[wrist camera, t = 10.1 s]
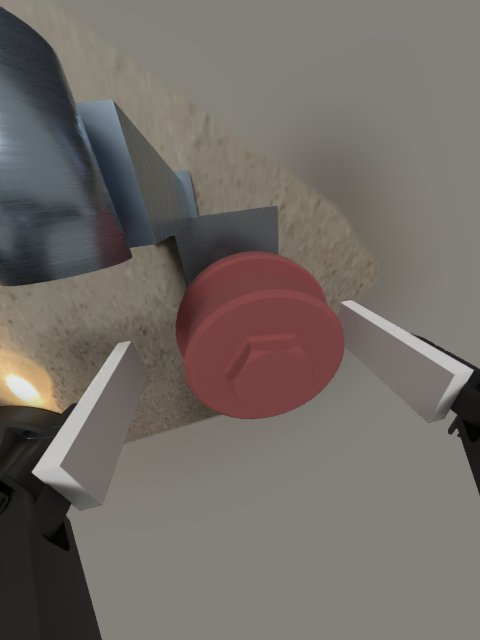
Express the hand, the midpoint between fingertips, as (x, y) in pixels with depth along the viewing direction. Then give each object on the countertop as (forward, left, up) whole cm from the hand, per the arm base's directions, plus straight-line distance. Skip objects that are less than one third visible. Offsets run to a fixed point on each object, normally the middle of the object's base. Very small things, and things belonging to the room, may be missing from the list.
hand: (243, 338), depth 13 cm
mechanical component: (+1, 0, -9) cm, 9 cm away
